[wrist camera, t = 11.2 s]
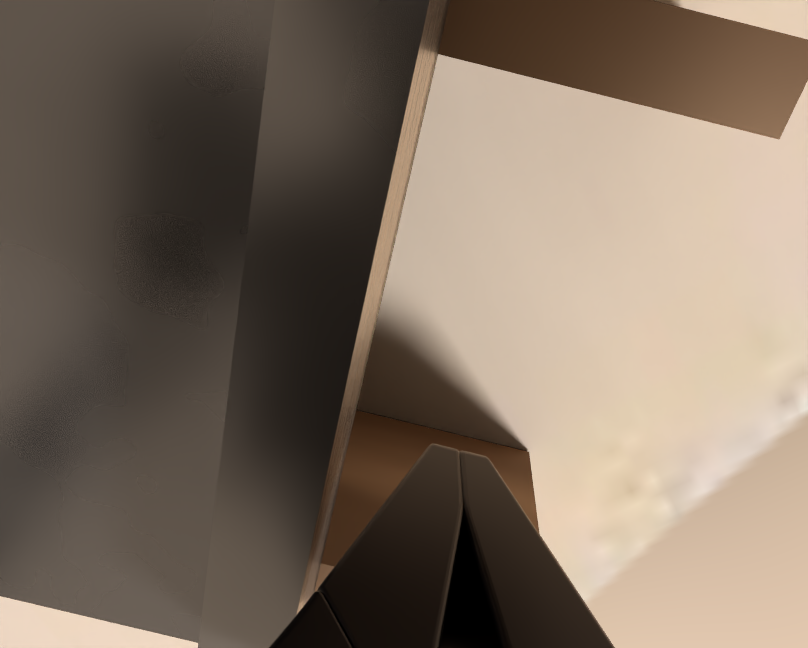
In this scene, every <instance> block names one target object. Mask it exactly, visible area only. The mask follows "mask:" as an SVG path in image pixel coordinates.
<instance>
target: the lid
mask: <svg viewBox="0 0 808 648" xmlns="http://www.w3.org/2000/svg"><path fill="white" fill-rule="evenodd" d="M449 4H450V0H0V596H2V597H7V598H11V599H15V600H19V601H24V602H28V603H32V604H36V605H41V606H45V607H49V608H53V609H57V610H62V611H66V612H70V613H74V614H79V615H83V616H87V617H91V618H96V619H100V620H104V621H108V622H112V623H117V624H121V625H125V626H129V627H134V628H138V629H142V630H146V631H151V632H155V633H159V634H163V635H167V636H172V637H176V638H180V639H184V640H189V641H193V642H197V643H198V648H269V647H270V646H271V645H272V643H273V642H274V641H275V640H276V639H277V637H278V636H279V635H280V634H281V633H282V632H283V630H284V629H285V628H286V627H287V626H288V624H289V623H290V622H291V621H292V620H293V618H294V617H295V616H296V615H297V614H298V612H299V611H300V610H301V609H302V607H303V606H304V605H305V603H306V602H307V601H308V600H309V598H310V597H311V596H312V595H313V593H314V592H315V587H316V583H317V579H318V574H319V570H320V565H321V561H322V557H323V552H324V548H325V544H326V539H327V535H328V531H329V526H330V522H331V518H332V513H333V509H334V505H335V500H336V496H337V491H338V487H339V483H340V478H341V474H342V470H343V465H344V461H345V457H346V452H347V448H348V444H349V439H350V435H351V430H352V426H353V422H354V417H355V413H356V409H357V404H358V400H359V396H360V391H361V387H362V383H363V378H364V374H365V369H366V365H367V361H368V356H369V352H370V348H371V343H372V339H373V335H374V330H375V326H376V322H377V317H378V313H379V309H380V304H381V300H382V295H383V291H384V287H385V282H386V278H387V274H388V269H389V265H390V261H391V256H392V252H393V248H394V243H395V239H396V234H397V230H398V226H399V221H400V217H401V213H402V208H403V204H404V200H405V195H406V191H407V187H408V182H409V178H410V174H411V169H412V165H413V160H414V156H415V152H416V147H417V143H418V139H419V134H420V130H421V126H422V121H423V117H424V113H425V108H426V104H427V99H428V95H429V91H430V86H431V82H432V78H433V73H434V69H435V65H436V60H437V56H438V52H439V47H440V43H441V38H442V34H443V30H444V25H445V21H446V17H447V12H448V8H449Z"/></svg>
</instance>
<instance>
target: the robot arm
mask: <svg viewBox="0 0 808 648" xmlns="http://www.w3.org/2000/svg"><path fill="white" fill-rule="evenodd" d="M269 648H615V647H614V646H613V644H612V643H611V641H610V640H609V638H608V637H607V635H606V634H605V632H604V631H603V629H602V628H601V627H600V625H599V623H598V622H597V620H596V619H595V617H594V616H593V614H592V613H591V611H590V610H589V608H588V607H587V605H586V604H585V602H584V601H583V599H582V598H581V596H580V595H579V593H578V592H577V590H576V589H575V587H574V586H573V584H572V583H571V581H570V579H569V578H568V576H567V575H566V573H565V572H564V570H563V569H562V567H561V566H560V564H559V563H558V561H557V560H556V558H555V557H554V555H553V554H552V552H551V551H550V549H549V548H548V546H547V545H546V543H545V542H544V540H543V539H542V537H541V536H540V534H539V533H538V531H537V530H536V528H535V527H534V525H533V524H532V522H531V521H530V519H529V518H528V516H527V515H526V513H525V512H524V510H523V509H522V507H521V506H520V504H519V503H518V501H517V500H516V498H515V497H514V495H513V494H512V492H511V491H510V489H509V488H508V486H507V485H506V483H505V482H504V480H503V479H502V477H501V476H500V474H499V473H498V471H497V470H496V468H495V467H494V465H493V464H492V462H491V461H490V459H489V458H488V457H486V456H483V455H479V454H475V453H471V452H467V451H458V450H457V449H454V448H450V447H446V446H442V445H438V444H430V445H429V446H428V447H427V448H426V450H425V451H424V452H423V453H422V455H421V456H420V457H419V459H418V460H417V461H416V462H415V464H414V465H413V466H412V468H411V469H410V470H409V472H408V473H407V474H406V475H405V477H404V478H403V479H402V481H401V482H400V483H399V484H398V486H397V487H396V488H395V490H394V491H393V492H392V493H391V495H390V496H389V497H388V499H387V500H386V501H385V502H384V504H383V505H382V506H381V508H380V509H379V510H378V511H377V513H376V514H375V515H374V517H373V518H372V519H371V520H370V522H369V523H368V524H367V526H366V527H365V528H364V529H363V531H362V532H361V533H360V535H359V536H358V537H357V538H356V540H355V541H354V542H353V544H352V545H351V546H350V547H349V549H348V550H347V551H346V553H345V554H344V555H343V556H342V558H341V559H340V560H339V562H338V563H337V564H336V566H335V567H334V568H333V569H332V571H331V572H330V573H329V575H328V576H327V577H326V578H325V580H324V581H323V582H322V584H321V585H320V586H319V588H318V590H317V591H316V592H314V593H313V595H312V596H311V597H310V598H309V600H308V601H307V602H306V603H305V605H304V606H303V607H302V609H301V610H300V611H299V612H298V614H297V615H296V616H295V617H294V618H293V620H292V621H291V622H290V623H289V624H288V626H287V627H286V628H285V629H284V630H283V632H282V633H281V634H280V635H279V636H278V637H277V639H276V640H275V641H274V642H273V643H272V645H271V646H270V647H269Z"/></svg>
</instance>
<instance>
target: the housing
mask: <svg viewBox="0 0 808 648" xmlns="http://www.w3.org/2000/svg"><path fill="white" fill-rule="evenodd" d="M438 54H441V55H445V56H449V57H453V58H457V59H461V60H465V61H469V62H472V63H476V64H480V65H484V66H488V67H492V68H496V69H500V70H504V71H508V72H512V73H516V74H520V75H524V76H528V77H532V78H536V79H540V80H544V81H548V82H552V83H556V84H560V85H564V86H568V87H572V88H576V89H580V90H584V91H588V92H592V93H596V94H600V95H604V96H608V97H612V98H616V99H620V100H624V101H628V102H632V103H636V104H640V105H644V106H648V107H652V108H656V109H660V110H664V111H668V112H672V113H676V114H680V115H684V116H688V117H692V118H696V119H700V120H704V121H708V122H712V123H716V124H720V125H724V126H728V127H732V128H736V129H740V130H744V131H748V132H752V133H756V134H760V135H764V136H768V137H772V138H776V139H780V137H781V135H782V132H783V130H784V128H785V126H786V124H787V122H788V120H789V118H790V116H791V114H792V112H793V109H794V107H795V105H796V103H797V101H798V99H799V97H800V95H801V93H802V91H803V89H804V87H805V84H806V82H807V80H808V40H807V39H803V38H799V37H795V36H791V35H787V34H783V33H779V32H775V31H771V30H767V29H763V28H760V27H756V26H752V25H748V24H744V23H740V22H736V21H732V20H728V19H724V18H720V17H716V16H712V15H708V14H704V13H700V12H696V11H692V10H688V9H684V8H680V7H677V6H673V5H669V4H665V3H661V2H657V1H653V0H450V4H449V8H448V12H447V17H446V21H445V25H444V30H443V34H442V38H441V43H440V47H439V52H438ZM430 444H438V445H442V446H446V447H450V448H454V449H457V450H458V451H467V452H471V453H475V454H479V455H483V456H486V457H488V458H489V459H490V461H491V462H492V464H493V465H494V467H495V468H496V470H497V471H498V473H499V474H500V476H501V477H502V479H503V480H504V482H505V483H506V485H507V486H508V488H509V489H510V491H511V492H512V494H513V495H514V497H515V498H516V500H517V501H518V503H519V504H520V506H521V507H522V509H523V510H524V512H525V513H526V515H527V516H528V518H529V519H530V521H531V522H532V524H533V525H534V527H535V528H536V530H537V531H538V533H539V528H538V520H537V512H536V504H535V496H534V488H533V480H532V472H531V464H530V457H529V452H527V451H523V450H519V449H515V448H511V447H507V446H502V445H498V444H494V443H490V442H486V441H482V440H478V439H474V438H469V437H465V436H461V435H457V434H453V433H449V432H445V431H441V430H436V429H432V428H428V427H424V426H420V425H416V424H412V423H408V422H403V421H399V420H395V419H391V418H387V417H383V416H379V415H375V414H370V413H366V412H362V411H358V410H356V413H355V417H354V422H353V426H352V430H351V435H350V439H349V444H348V448H347V452H346V457H345V461H344V465H343V470H342V474H341V478H340V483H339V487H338V491H337V496H336V500H335V505H334V509H333V513H332V518H331V522H330V526H329V531H328V535H327V539H326V544H325V548H324V552H323V557H322V561H321V565H320V570H319V574H318V579H317V583H316V587H315V592H316V591H317V590H318V588H319V586H320V585H321V584H322V582H323V581H324V580H325V578H326V577H327V576H328V575H329V573H330V572H331V571H332V569H333V568H334V567H335V566H336V564H337V563H338V562H339V560H340V559H341V558H342V556H343V555H344V554H345V553H346V551H347V550H348V549H349V547H350V546H351V545H352V544H353V542H354V541H355V540H356V538H357V537H358V536H359V535H360V533H361V532H362V531H363V529H364V528H365V527H366V526H367V524H368V523H369V522H370V520H371V519H372V518H373V517H374V515H375V514H376V513H377V511H378V510H379V509H380V508H381V506H382V505H383V504H384V502H385V501H386V500H387V499H388V497H389V496H390V495H391V493H392V492H393V491H394V490H395V488H396V487H397V486H398V484H399V483H400V482H401V481H402V479H403V478H404V477H405V475H406V474H407V473H408V472H409V470H410V469H411V468H412V466H413V465H414V464H415V462H416V461H417V460H418V459H419V457H420V456H421V455H422V453H423V452H424V451H425V450H426V448H427V447H428V446H429V445H430Z"/></svg>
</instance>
